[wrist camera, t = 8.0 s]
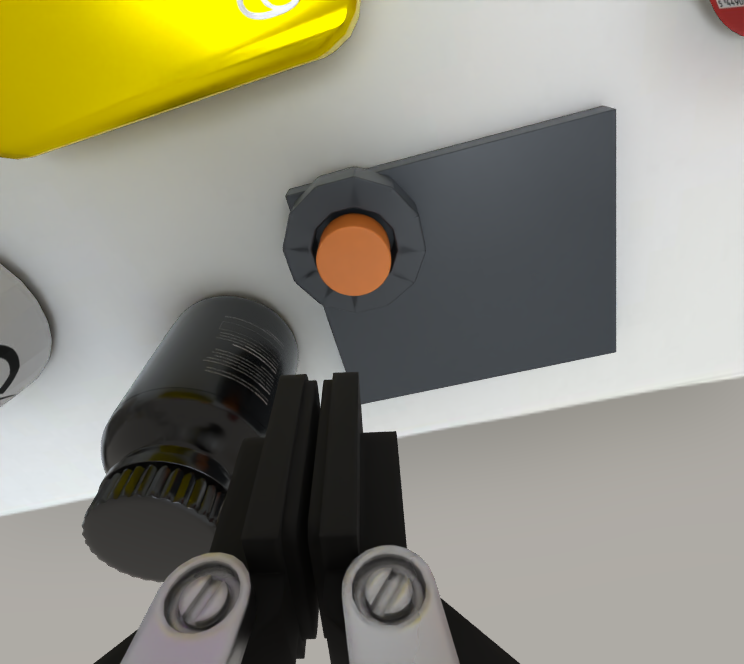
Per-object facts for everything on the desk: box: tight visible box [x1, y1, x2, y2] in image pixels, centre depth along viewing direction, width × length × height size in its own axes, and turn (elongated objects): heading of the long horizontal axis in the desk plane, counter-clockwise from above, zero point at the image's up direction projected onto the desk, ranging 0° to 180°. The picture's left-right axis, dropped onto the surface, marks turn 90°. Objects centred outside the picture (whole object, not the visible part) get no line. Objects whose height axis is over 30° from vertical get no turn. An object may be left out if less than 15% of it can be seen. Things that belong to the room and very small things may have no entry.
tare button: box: [316, 213, 391, 296], centre depth 20 cm, size 3×3×2 cm
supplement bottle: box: [82, 296, 298, 582], centre depth 21 cm, size 7×7×12 cm
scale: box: [283, 106, 616, 404], centre depth 23 cm, size 14×12×3 cm
